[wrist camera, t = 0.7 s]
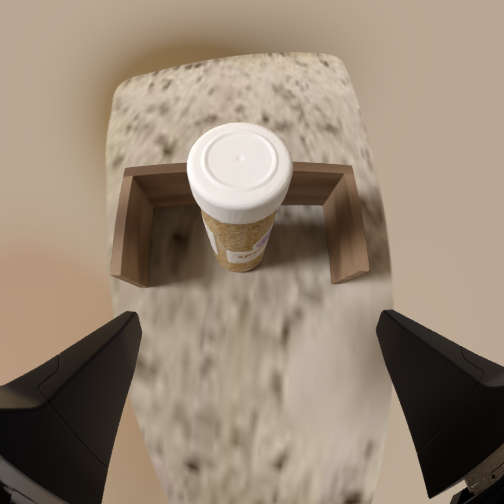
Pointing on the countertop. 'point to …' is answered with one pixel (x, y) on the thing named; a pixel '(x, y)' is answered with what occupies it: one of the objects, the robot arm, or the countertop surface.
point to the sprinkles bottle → (239, 189)
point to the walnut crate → (180, 194)
